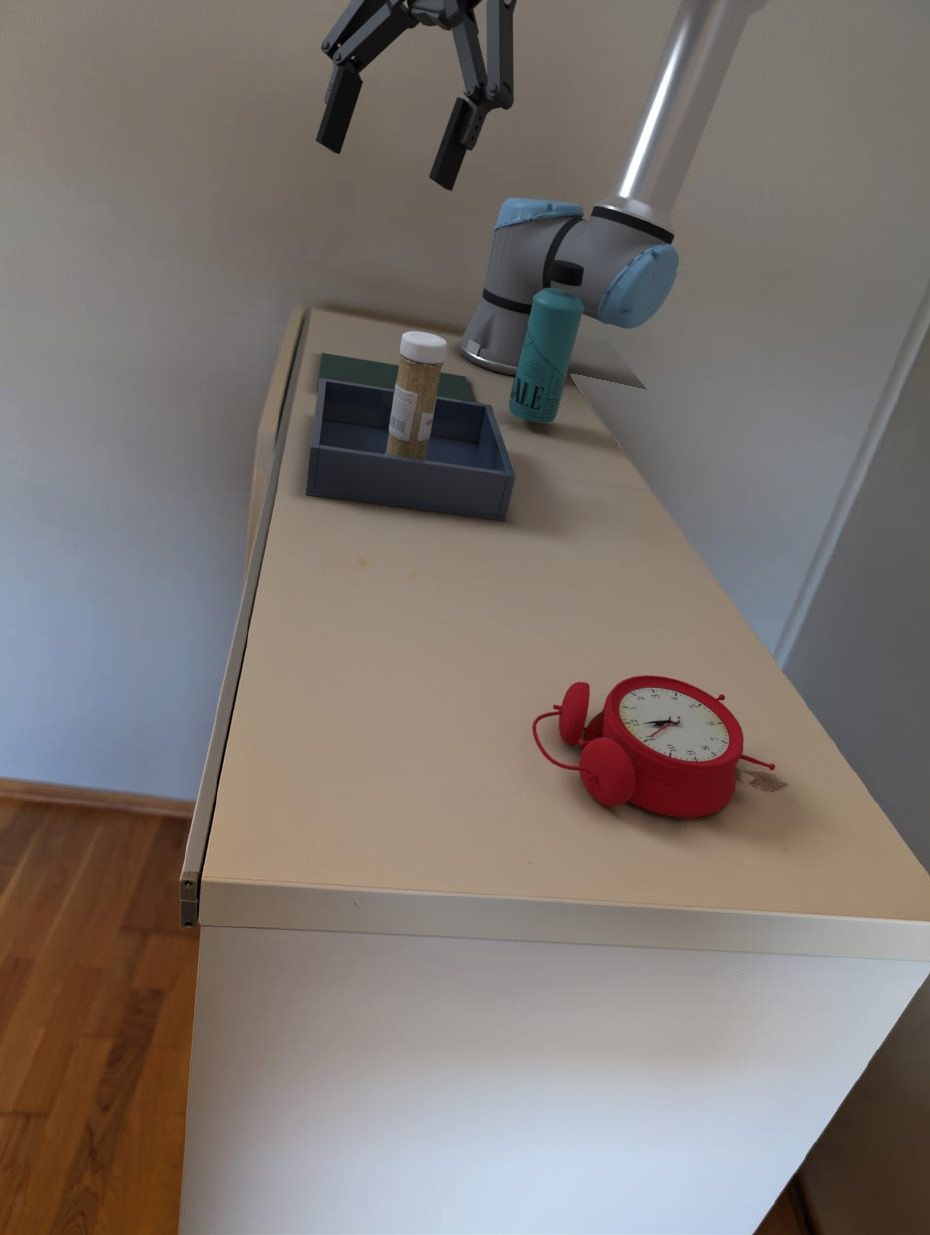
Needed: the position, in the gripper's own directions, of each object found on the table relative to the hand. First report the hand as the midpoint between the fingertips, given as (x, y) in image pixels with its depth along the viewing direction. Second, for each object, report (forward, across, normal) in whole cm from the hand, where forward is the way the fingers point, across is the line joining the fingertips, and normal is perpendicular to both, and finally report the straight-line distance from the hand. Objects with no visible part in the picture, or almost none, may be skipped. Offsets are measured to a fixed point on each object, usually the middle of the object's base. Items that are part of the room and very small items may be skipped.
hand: (381, 165), depth 77 cm
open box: (+25, +6, +12) cm, 28 cm away
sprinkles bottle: (+25, +6, +12) cm, 28 cm away
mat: (+19, -12, +30) cm, 37 cm away
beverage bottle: (+18, +6, +36) cm, 40 cm away
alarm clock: (+32, +46, -10) cm, 57 cm away
